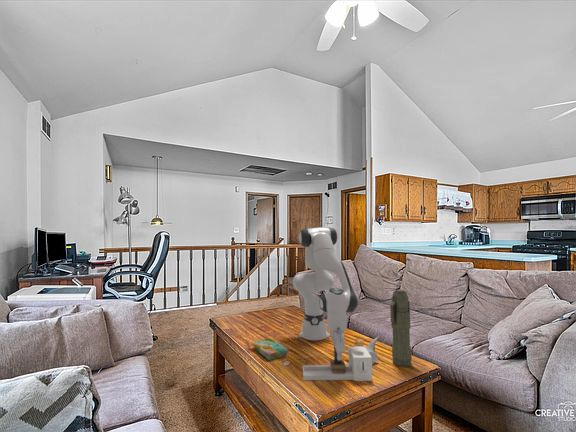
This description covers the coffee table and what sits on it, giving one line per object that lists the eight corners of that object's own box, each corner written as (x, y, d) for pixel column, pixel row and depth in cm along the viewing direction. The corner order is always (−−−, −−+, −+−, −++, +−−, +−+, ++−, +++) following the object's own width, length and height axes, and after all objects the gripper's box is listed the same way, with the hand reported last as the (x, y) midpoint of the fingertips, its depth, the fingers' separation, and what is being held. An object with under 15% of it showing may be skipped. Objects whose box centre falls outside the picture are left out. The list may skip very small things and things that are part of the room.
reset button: (354, 343, 142) (353, 338, 142) (362, 342, 142) (362, 338, 142) (355, 346, 138) (355, 341, 138) (364, 346, 138) (364, 341, 138)
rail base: (302, 368, 145) (302, 347, 146) (365, 368, 145) (365, 346, 145) (303, 382, 132) (303, 358, 133) (372, 381, 132) (372, 358, 133)
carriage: (330, 365, 143) (329, 344, 143) (343, 365, 143) (342, 344, 143) (332, 372, 136) (331, 350, 136) (345, 372, 136) (345, 350, 136)
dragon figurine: (353, 351, 166) (350, 334, 166) (382, 353, 160) (379, 335, 160) (347, 365, 153) (345, 347, 152) (379, 368, 147) (376, 348, 146)
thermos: (386, 363, 150) (384, 291, 152) (401, 357, 157) (399, 288, 158) (402, 369, 143) (400, 294, 144) (417, 363, 150) (414, 291, 151)
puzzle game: (267, 352, 154) (251, 340, 171) (267, 362, 154) (251, 349, 171) (287, 347, 160) (270, 336, 177) (287, 356, 160) (270, 344, 177)
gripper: (348, 332, 130) (348, 365, 129) (340, 318, 150) (340, 346, 150) (333, 332, 130) (333, 365, 129) (327, 318, 150) (328, 346, 150)
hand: (337, 355), depth 140 cm, fingers open, 8 cm apart
